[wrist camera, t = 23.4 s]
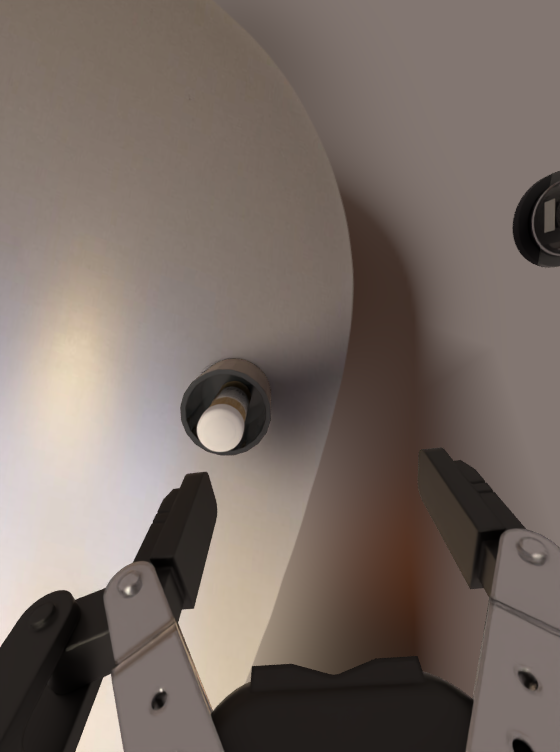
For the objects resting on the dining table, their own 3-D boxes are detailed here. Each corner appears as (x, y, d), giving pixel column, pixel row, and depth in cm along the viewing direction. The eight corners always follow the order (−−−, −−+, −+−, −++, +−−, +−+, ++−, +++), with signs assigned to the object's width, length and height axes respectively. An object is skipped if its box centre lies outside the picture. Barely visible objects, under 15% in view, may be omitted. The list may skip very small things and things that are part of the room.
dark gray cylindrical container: (270, 358, 43) (270, 369, 34) (271, 427, 45) (271, 455, 36) (197, 358, 43) (177, 369, 34) (200, 428, 45) (183, 455, 36)
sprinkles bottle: (212, 398, 43) (186, 435, 30) (232, 373, 43) (213, 399, 30) (238, 418, 44) (224, 462, 31) (258, 393, 43) (252, 427, 30)
